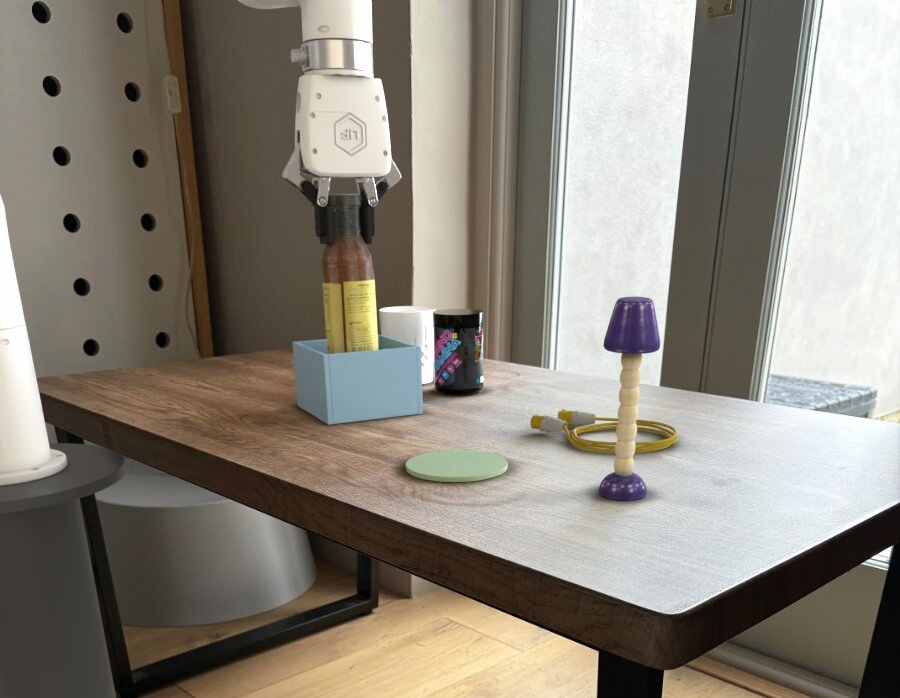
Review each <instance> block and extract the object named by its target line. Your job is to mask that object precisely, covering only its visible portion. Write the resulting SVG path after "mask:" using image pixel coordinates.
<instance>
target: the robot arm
mask: <svg viewBox="0 0 900 698" xmlns="http://www.w3.org/2000/svg"><path fill="white" fill-rule="evenodd" d="M237 1H238V2H239V3H240V4H242V5H244V6H246V7H248V8H249V7H250V8H253V9H256V10H272V9H284V8H294V7H297V8H298V7H300V14H301V33H302V44H300V47H298V48H291V49H290V62H291V63H292V64H298V65H299V66H301V69H302V73H303V74H304V75H301V76H299V78H298V85H297V91H296V103H295V104H296V105H295V122H294V150H293V152H292V154H291V155H290V158H289V160H288V162H287V164H286V165H285V167H284V169H283V171H282V174H281V175H282V178H283V180H285V182H288V183H289V184H290V185H292V186H293V187H294V188H296V189H297V190H299V192H300V193H301V194H302V195H303V196H304V197H305V199H307V200H308V201H309V203H310V205H311V206H313V209H314V230H315V236H316V237H317V238H318V239H319V244H320V245H325V246H326V245H332V243H334V232H333V210H332V208H331V207H329V201H328V195H329V194H330V186H331V178H342V179H343V178H344V179H346V178H348V179H349V178H352V179H355V184H356V189H357V194H360V198H361V208H360V224H361V230H362V233H361V234H362V237H363V239H364V242H365V244H366V245H371V244H372V243H373V237H374V236H375V234H376V228H375V227H376V226H375V225H376V224H375V207H376V206H377V205H378V203H379V202H380V200H381V198H383V196H384V195H385V194H386V192H388V190H389V189H391V188H392V187H393V186H395V185H396V184H397V183H399V182H400V181H401V179H402V173H401V172H400V170H399V168H398V167H397V164H396V163H395V161H394V160H393V157H392V151H391V150H392V149H391V136H390V126H389V117H388V109H387V103H386V98H385V92H384V87H383V82H382V79H381V78H377V77H374V47H373V7H372V5H373V4H372V0H237ZM303 175H304V176H305V177H306V176H307V177H310V178H312V180H311V181H310V180H308V179H306V178H305V177H304V176H303ZM379 177H381V178H379ZM375 178H379V180H377V181H375ZM6 213H7V212H6V207H5V204H4V201H3V197H2V195H1V194H0V486H5V485H12V484H19V483H25V482H30V481H34V480H39V479H42V478H45V477H49V476H51V475H54V474H56V473H58V472H60V471H62V470H63V469H65V468H66V466H67V465H68V464H67V457H66V455H65V454H64V453H63V452H61V451H58V450H54V449H50V447H49V443H50V441H49V437H48V431H47V427H46V426H47V425H46V422H45V417H44V411H43V410H44V409H43V405H42V399H41V395H40V391H39V385H38V380H37V374H36V369H35V364H34V359H33V354H32V349H31V344H30V338H29V334H28V333H29V332H28V328H27V323H26V319H25V315H24V314H25V313H24V311H23V310H24V309H23V304H22V300H21V299H22V298H21V294H20V288H19V284H18V283H19V282H18V279H17V274H16V268H15V264H14V258H13V253H12V248H11V242H10V235H9V228H8V222H7V214H6Z"/></svg>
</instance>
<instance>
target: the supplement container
mask: <svg viewBox="0 0 900 698" xmlns="http://www.w3.org/2000/svg"><path fill="white" fill-rule="evenodd" d="M484 325H485V322H484V311H483V310H482V309H475V308H447V309H446V308H445V309H438V310H435V311H433V342H434V362H433V380H434V383H433V385H434V388H435V391H436V392H437V393H438V394H440V395H444V396H454V397H457V396H459V397H461V396H472V395H476V394H479V393H481V392H482V390H483V389H484Z"/></svg>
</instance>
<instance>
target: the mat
mask: <svg viewBox="0 0 900 698" xmlns="http://www.w3.org/2000/svg"><path fill="white" fill-rule="evenodd" d="M508 466H509V463H508V461H507V459H506V458H505V457H504V456H501V455H499V454H496V453H492V452H488V451H482V450H473V449H469V450H468V449H446V450H436V451H429V452H425V453H421V454H418V455H415V456H413V457H411V458H409V459H408V460H406V462H405V471H406V473H408V474H409V475H410V476H412V477H414V478H417V479H422V480H425V481H432V482H442V483H467V482H477V481H483V480H488V479H489V480H490V479H493V478H495V477H496V478H497V477H499V476H501V475H503V474H504V473H505V472H506V471H508Z"/></svg>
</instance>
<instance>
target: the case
mask: <svg viewBox="0 0 900 698" xmlns="http://www.w3.org/2000/svg"><path fill="white" fill-rule="evenodd" d="M378 349H379V350H370V351H359V352H348V353H336V354H328V353H327V339H326V338H325V339H312V340H299V341H292V355H293V368H294V379H295V381H294V382H295V391H296V392H295V393H296V404H297V407H299V408H300V409H301V410H304V411H306V412H307V413H308V414H310V415H311V416H314V417H315V418H317V419H318V420H320V421H322V422H324V423H325V424H327V425H328V426H329V425H331V426H332V425H337V424H345V423H346V424H347V423H354V422H362V421H363V422H364V421H372V420H381V419H388V418H397V417H406V416H413V415H422V414H423V413H424V406H423V405H424V404H423V402H424V401H423V384H422V366H421V347H420V346H417V345H414V344H410V343H407V342H404V341H401V340H398V339H395V338H392V337H389V336H385V335H381V334H378Z"/></svg>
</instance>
